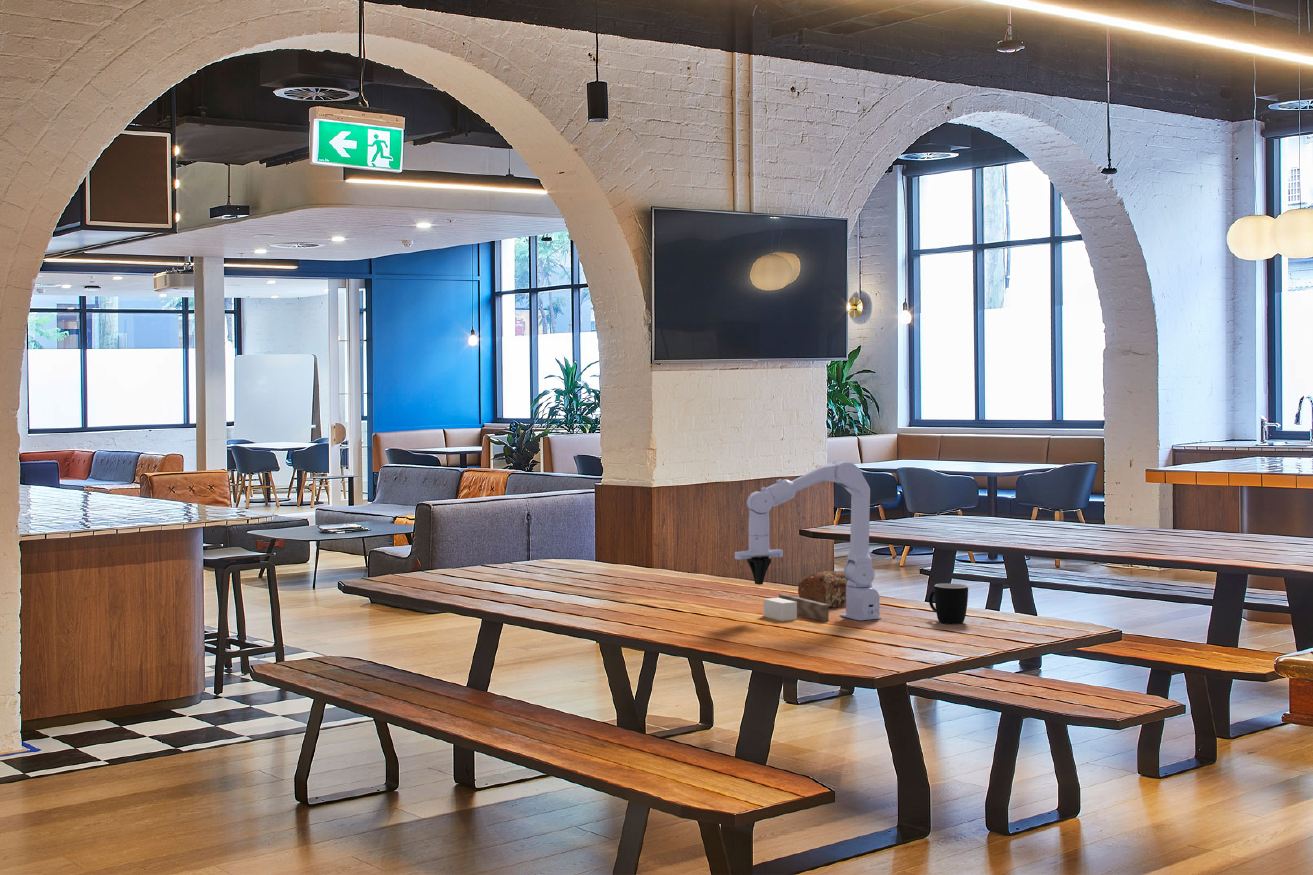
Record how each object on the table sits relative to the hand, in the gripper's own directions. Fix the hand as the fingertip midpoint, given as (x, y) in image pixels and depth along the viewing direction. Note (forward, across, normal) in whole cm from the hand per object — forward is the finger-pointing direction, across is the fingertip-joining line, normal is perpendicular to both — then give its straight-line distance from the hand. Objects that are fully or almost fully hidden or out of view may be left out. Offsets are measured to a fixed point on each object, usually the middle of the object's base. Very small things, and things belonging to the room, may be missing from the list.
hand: (758, 584), depth 354 cm
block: (+10, -7, 0) cm, 12 cm away
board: (+10, -15, 0) cm, 18 cm away
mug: (+10, -44, +26) cm, 52 cm away
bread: (+10, -33, -14) cm, 38 cm away
